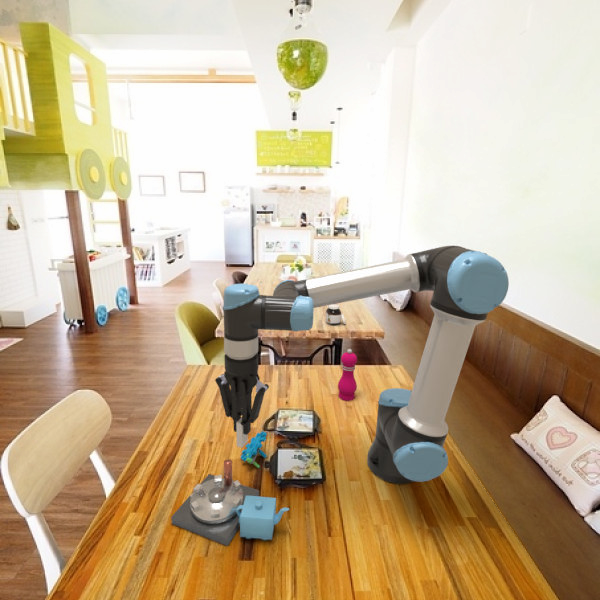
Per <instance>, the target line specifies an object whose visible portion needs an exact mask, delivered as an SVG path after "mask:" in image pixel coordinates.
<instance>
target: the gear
mask: <svg viewBox="0 0 600 600" xmlns="http://www.w3.org/2000/svg"><path fill="white" fill-rule="evenodd" d="M266 439H267V432H266V431H264V430H262V431H260V432H257V433H256V434H255V436H253V437H251V439H250V443H249V442H247V443H246V444H245V445H244V446H245V448H246V449H243V450H242V451H241V455H240V460H242V461H243V462H248V464H250V465H252V464H253V465H254V466H255V467H256V468H257V469H259V468H260V466H261V465H259V463H257V462H256V459H257V456H258V454H259V455H260V456H262V458H263V459H266V458H267V454H266V453H265V452H264V451H263V450H262V449H261V448H262V447H263V444H262V442H263V443H265V441H266Z"/></svg>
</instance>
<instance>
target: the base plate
mask: <svg viewBox="0 0 600 600" xmlns="http://www.w3.org/2000/svg"><path fill="white" fill-rule="evenodd" d="M215 476H216V475H214V474H210V473H209V474H207V475H206V477H205V478H204V479H203V480H202V481H201V482H200V483H199V484H200V485H201V484H203V483H204V482H206V481H209V480H212V479H214V477H215ZM241 488H242V491H243V503H242V505H243V504H244V501H245V497H246V495H248V496H260V490H259V489H256V488H253V487H250V486H248V485H244V484H241ZM192 494H193V492H192V493H191V494H190V495H189V496H188V497H187V499H185V501H183V503H182V504H181V505H180V506H179V507H178V508H177V510H176V511H175V512H174V513H173V514H172V516H171V517H170V518H171V524H172V525H173V526H176V527H179V528H180V529H183V530H186V531H189V532H192V533H194V534H197V535H198V536H201V537H203V538H206V539H208V540H211V541H214V542H216V543H218V544H221V545H224V546H225V547H228V546H229V544H230V543H231V542H232V540H233V538H234V537H235V536H236V534H237V532H238V531H239V530H240V528H239V527H240V523H239V518H240V517H239V516H238V515H237V514H236V515H235V516H233V517H232V518H230V519H229V520H227V521H224V522H221V523H216V524H208V523H203V522H201V521H199V520H197V519H196V518H195V517H194V516H193V514H192V512H191V507H190V499H191V496H192ZM239 511H240V513H241V512H242V509H240V510H239Z"/></svg>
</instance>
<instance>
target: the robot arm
mask: <svg viewBox="0 0 600 600" xmlns="http://www.w3.org/2000/svg"><path fill="white" fill-rule="evenodd" d="M509 282H510V281H509V276H508V273H507V271H506V269H505V266H503V264H502V263H501V262H500V261H499V260H498V259H496V258H495V257H493V256H491V255H489V254H488V253H485V252H482V251H478V250H473V249H469V248H466V247H463V246H460V245H459V246H458V245H444V246H440V247H435V248H430V249H427V250H423V251H418V252H413V253H409V254H407V255H406V256H405V258H404V259H400V260H395V261H389V262H386V263H385V262H384V263H379V264H375V265H369V266H365V267H360V268H355V269H350V270H346V271H345V270H344V271H341V272H334V273H331V274H326V275H325V274H324V275H321V276H316V277H311V278H306V279H301V280H293V279H285V280H282V281H280V282H279V283H278V284H277V286H276V287H275V289H274V290H273V294H272V295H266V294H265V295H263V294H260V291H259V290H260V289H259V288H258V286H257V285H254V284H248V283H235V284H234V283H233V284H231V285H227V287H226V288H224V291H223V306H222V310H223V313H222V314H223V350H224V351H223V352H224V373H221V374H220V375H219V376H217V377H216V378H214V379H215V380H214V381H215V383H216V385H217V387H218V388H219V392H220V397H221V400H222V405H223V410H224V414H225V416H226V417H227V418H231V419H232V421H233V423H232V424H233V432H234V433H236V447H238V448H241V449H242V448H243V447H244V446H246V445H247V444H248V443H249V442H248V441H249V439H248V438H249V433H250V432H251V429H252V426H251V424H253V423H254V422H255V421H256V420H258V418H259V416H260V413H261V409H262V405H263V401H264V396H265V394H266V393H267V391H268V389H269V388H270V386H269V384H268V383H265V384H264V383H263V382H262V381H260V379H261V378H260V376H259V372H258V371H259V354H258V352H259V330H262V331H263V330H266V331H267V330H268V331H286V332H287V331H290V332H291V331H293V332H302V331H304V332H305V331H309V330H311V329H312V328H313V326H314V325H313V324H314V312H315V311H314V310H315V309H316V308H321V307H325V306H326V307H327V306H328V305H332V304H337V305H338V304H343V303H346V302H347V303H348V302H352V301H357V300H362V299H366V298H373V297H378V296H382V295H388V294H391V293H397V292H398V293H399V292H402V291H404V292H405V291H408V290H409V291H410V290H411V291H412V292H414V293H420V292H427V291H429V292H433V293H432V297H431V300H430V303H429V306H430V308H431V310H432V312H433V313H434V315H433V318H432V322H431V325H430V327H429V332H428V335H427V339H426V341H425V346H424V349H423V353H422V355H421V359H420V361H419V362H420V363H419V366H418V369H417V372H416V376H415V380H414V382H413V386H412V389H406V388H399V387H392V388H387V389H384V390H383V391H381V392H380V394H379V398H378V401H377V403H378V405H377V417H376V426H375V427H376V428H375V437H374V439H373V441H372V442H371V446H370V447H369V449H368V452H367V461H366V462H367V466H368V468H369V470H370V472H372V473H373V474H374V475H375V476H376V477H378V478H379V479H381V480H383V481H386V482H389V483H391V484H397V485H403V484H404V485H406V484H411V483H413V482H421V483H422V482H428V481H431V480H433V479H436V478H438V477H440V476H441V475H443V473H444V472H445V471H446V469H447V467H448V464H449V457H448V452H447V451H446V449H445V448H444V444H445V443H446V439H447V436H448V432H449V426H448V424H447V422H446V420H445V419H446V415H447V413H448V410H449V407H450V405H451V402H452V397H453V395H454V392H455V390H456V389H455V388H456V386H457V382H458V380H459V376H460V374H461V370H462V367H463V364H464V361H465V358H466V355H467V352H468V350H469V346H470V343H471V340H472V338H473V335H474V331H475V329H476V326H477V325H480V324H481V323H484V322H486V320H487V317H488V314H489V313H490V312H493V311H494V310H495V308H497V307H500V305H501V304H502V303H503V301H504V300H505V298H506V297H507V294H508V291H509V286H510V285H509ZM255 387H256V388H255ZM254 388H255V396H254V398H253V401H252V397H253V396H252V395H253V391H254V390H253V389H254ZM252 402H253V403H252Z"/></svg>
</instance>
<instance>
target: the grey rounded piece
mask: <svg viewBox="0 0 600 600" xmlns="http://www.w3.org/2000/svg"><path fill="white" fill-rule="evenodd" d="M223 473H224V474H223V475H222V474H219V475H218V474H217V475H214V476H215V477H214V479H212V480H209V481H206V482H204V483H203V484H201V483H197V484H196V485H195V486H194V487H193V492H192V493H193V494H192V493H191V494H192V496H191V499H190V507H191V512H192V514H193V516H194V517H195V518H196V519H197V520H199V521H201V522H203V523H208V524H216V523H221V522H224V521H227V520H229V519H230V518H232V517H233V516H235V515H236V514H237V512H236V510H237V508H238V506H240V505H242V503H243V491H242V488H241V485H242V484H241V482H240V481H239V480H238V479H237V480H233V461H232V459H225V460H224V461H223ZM223 476H224V477H223ZM200 484H201V485H200Z"/></svg>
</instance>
